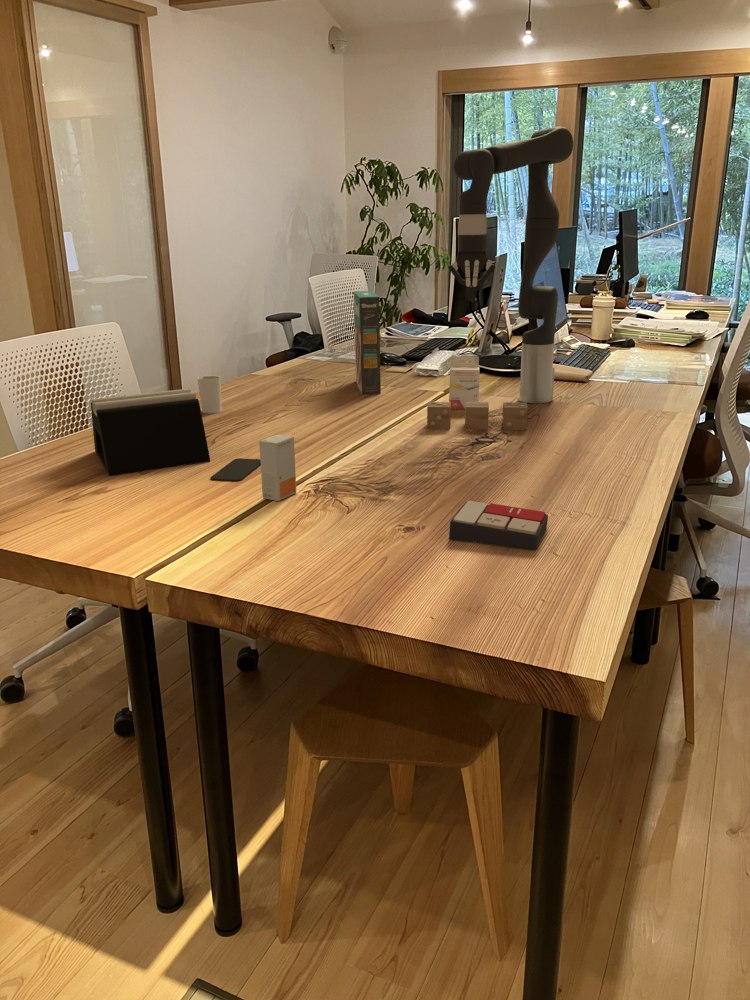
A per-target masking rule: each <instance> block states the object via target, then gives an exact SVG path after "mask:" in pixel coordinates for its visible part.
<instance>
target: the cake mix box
mask: <svg viewBox="0 0 750 1000" xmlns="http://www.w3.org/2000/svg"><path fill="white" fill-rule="evenodd" d="M353 314H354V315H353V318H354V319H353V320H354V324H353V326H354V355H355V356H354V357H355V361H354V363H355V383H356V385H357V387H358V389H359V391H360V394H361V395H381V394H382V393H381V392H382V390H381V389H382V387H381V385H382V383H381V381H382V380H381V331H380V328H381V327H380V323H381V322H380V321H381V320H380V296H379V295H378V294H376V292H374V291H372V290H365V291H364V290H363V291H362V290H361V291H360V290H358V291H355V290H354V291H353Z"/></svg>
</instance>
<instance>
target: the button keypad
mask: <svg viewBox="0 0 750 1000" xmlns="http://www.w3.org/2000/svg"><path fill="white" fill-rule="evenodd" d="M548 518H549V515H548V514H547V513H546V512H545V511H542V510H535V509H531V508H529V509H528V508H524V507H523V508H522V507H515V506H510V505H504V504H498V503H489V504H488V503H485V502H479V501H473V500H468V501H465V503H464V504H463V505H461V507H460V509H458V511H457V513H456V514H454V516H453V517H452V519H450V522H449V531H448V532H449V533H448V540H449V541H456V542H462V543H463V542H464V543H479V544H486V545H492V546H498V547H503V548H512V549H519V550H525V551H533V552H534V551H535V552H536V551H537V550H538V548H539V545H540V543H541V542H542V539H543V537H544V535H545V533H546V531H547V528H548V521H549V519H548Z"/></svg>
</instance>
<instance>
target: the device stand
mask: <svg viewBox="0 0 750 1000" xmlns="http://www.w3.org/2000/svg"><path fill="white" fill-rule="evenodd" d="M191 390H192V389H191V388H184V389H183V388H181V389H174V390H165V391H164V390H163V391H157V392H154V391H153V392H144V393H138V394H137V393H136V394H135V393H134V394H128V395H127V394H126V395H117V396H108V397H107V396H106V397H99V398H91V402H90V409H91V410H90V411H91V421H92V423H91V424H92V431H93V432H92V433H93V444H94V445H93V446H94V450H95V451H94V452H95V454H96V456H97V458H98V459H99V461H100V463H101V464H102V466H103V467H104V469H105V471H106V473H107V474H108V476H109V477H112V476H119V475H127V474H133V473H140V472H146V471H153V470H154V471H155V470H161V469H167V468H174V467H180V466H181V467H182V466H186V465H188V466H189V465H194V464H195V465H196V464H201V463H202V464H203V463H208V462H211V456H210V451H209V446H208V441H207V435H206V431H205V426H204V425H205V424H204V422H203V415H202V414H203V413H202V408H201V403H200V401H199V399H198V398H197V395H196V392H194V391H191Z"/></svg>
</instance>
